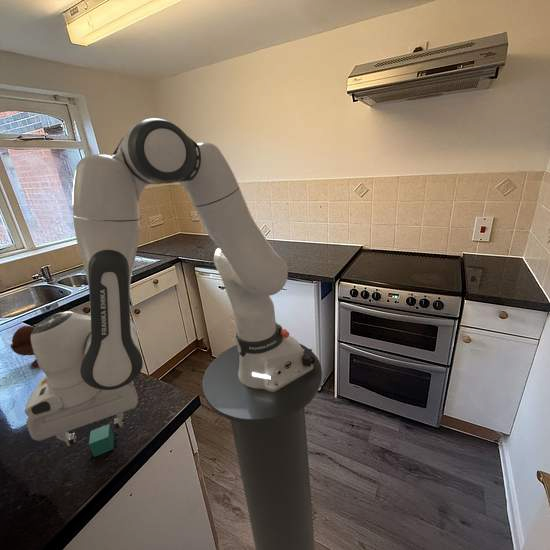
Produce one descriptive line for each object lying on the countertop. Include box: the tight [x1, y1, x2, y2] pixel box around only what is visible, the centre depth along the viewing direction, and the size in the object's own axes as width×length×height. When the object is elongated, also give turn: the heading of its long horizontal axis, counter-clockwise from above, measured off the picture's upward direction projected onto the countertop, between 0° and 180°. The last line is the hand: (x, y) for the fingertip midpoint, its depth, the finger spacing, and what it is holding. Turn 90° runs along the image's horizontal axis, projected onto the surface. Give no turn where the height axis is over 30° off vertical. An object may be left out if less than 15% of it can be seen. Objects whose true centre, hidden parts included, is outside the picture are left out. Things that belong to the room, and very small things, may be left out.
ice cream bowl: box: [10, 325, 40, 368], centre depth 102 cm, size 11×11×15 cm
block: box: [88, 424, 115, 458], centre depth 69 cm, size 4×4×4 cm
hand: (96, 434), depth 68 cm, fingers open, 8 cm apart
